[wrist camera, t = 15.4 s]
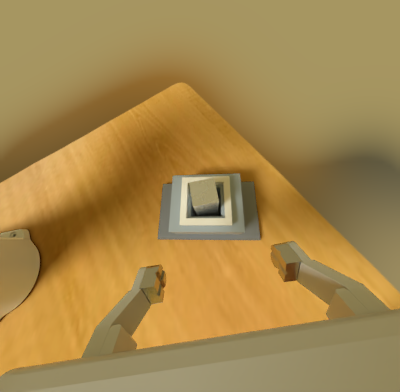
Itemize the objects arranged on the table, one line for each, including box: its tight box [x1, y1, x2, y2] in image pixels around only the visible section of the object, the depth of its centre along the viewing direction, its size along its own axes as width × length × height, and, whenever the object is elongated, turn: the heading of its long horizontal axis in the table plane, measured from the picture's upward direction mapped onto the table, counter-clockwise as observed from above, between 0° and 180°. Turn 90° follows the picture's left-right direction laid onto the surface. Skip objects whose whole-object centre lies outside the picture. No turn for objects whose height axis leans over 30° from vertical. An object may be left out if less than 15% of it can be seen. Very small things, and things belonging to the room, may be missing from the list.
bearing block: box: [158, 174, 261, 240], centre depth 27 cm, size 20×12×7 cm, turn 89°
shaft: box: [189, 178, 219, 216], centre depth 24 cm, size 4×4×11 cm
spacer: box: [179, 176, 232, 226], centre depth 23 cm, size 8×8×1 cm
